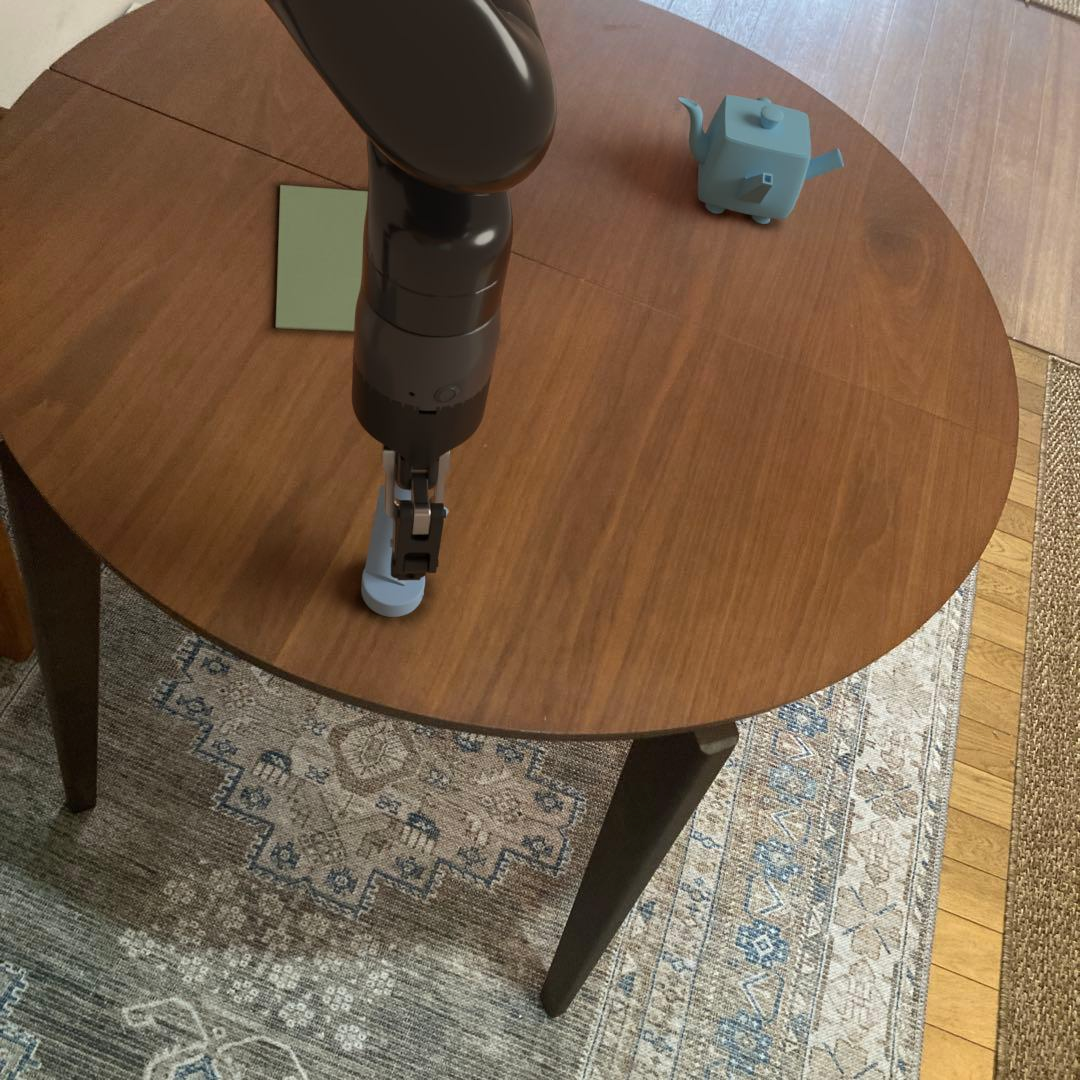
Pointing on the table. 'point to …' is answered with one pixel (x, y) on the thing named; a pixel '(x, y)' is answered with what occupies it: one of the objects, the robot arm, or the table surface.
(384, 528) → the spotlight
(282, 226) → the mat
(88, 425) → the table surface
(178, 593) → the table surface
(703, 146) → the teapot
